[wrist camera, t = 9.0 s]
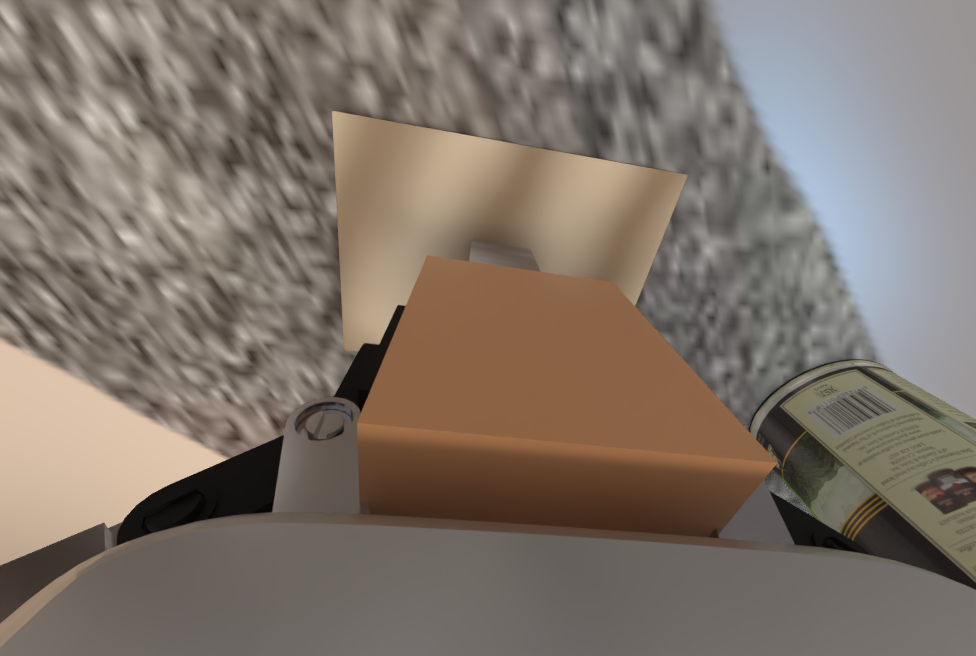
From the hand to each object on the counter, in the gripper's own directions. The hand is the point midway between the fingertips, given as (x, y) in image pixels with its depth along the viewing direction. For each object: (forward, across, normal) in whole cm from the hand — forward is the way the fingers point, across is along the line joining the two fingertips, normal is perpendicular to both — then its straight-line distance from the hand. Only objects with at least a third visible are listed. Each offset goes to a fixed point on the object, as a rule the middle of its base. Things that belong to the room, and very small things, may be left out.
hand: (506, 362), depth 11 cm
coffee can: (+10, -26, +8) cm, 29 cm away
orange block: (+1, 0, 0) cm, 1 cm away
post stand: (+10, 0, 0) cm, 10 cm away
